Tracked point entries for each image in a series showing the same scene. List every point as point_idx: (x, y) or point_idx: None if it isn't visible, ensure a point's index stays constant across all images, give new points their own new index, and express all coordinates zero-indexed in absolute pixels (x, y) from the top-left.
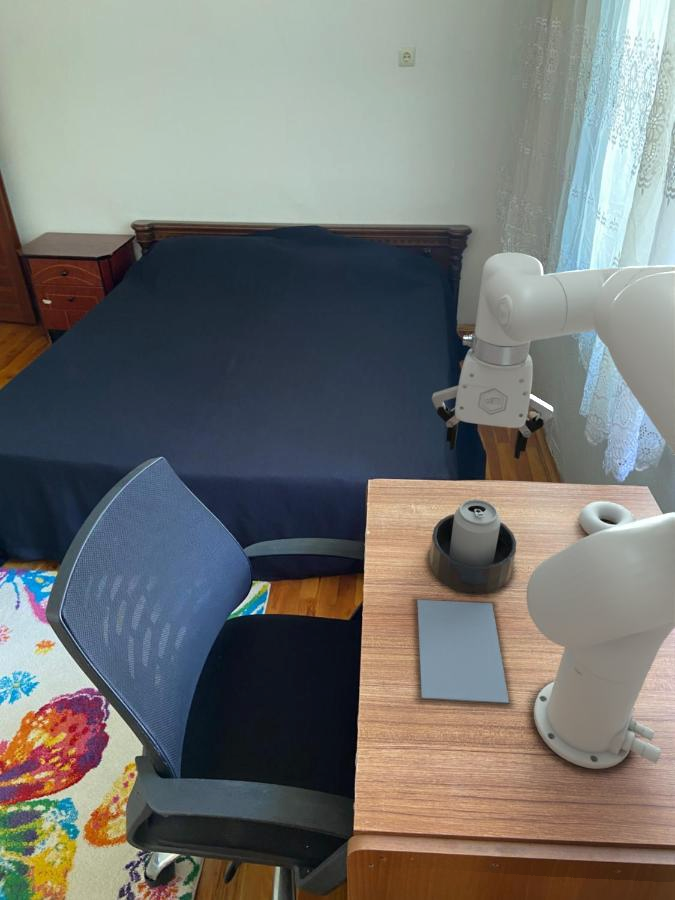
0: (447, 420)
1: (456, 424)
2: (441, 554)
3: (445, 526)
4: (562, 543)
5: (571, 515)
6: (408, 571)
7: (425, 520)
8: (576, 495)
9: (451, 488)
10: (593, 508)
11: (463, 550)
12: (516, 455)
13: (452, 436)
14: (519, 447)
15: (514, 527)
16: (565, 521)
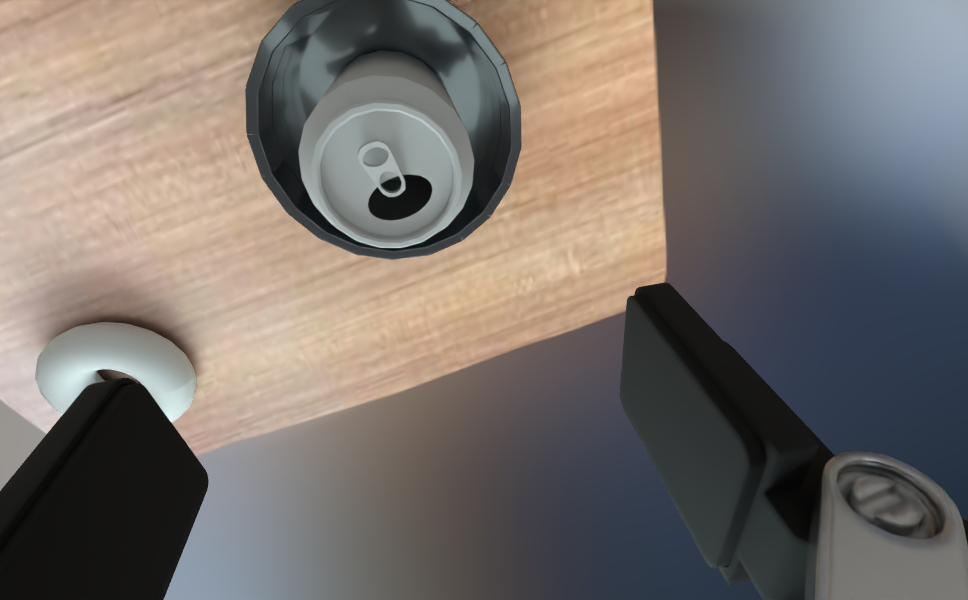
0: (955, 536)
1: (745, 516)
2: (472, 18)
3: (489, 186)
4: (201, 283)
5: (223, 374)
6: (548, 18)
7: (538, 233)
8: (240, 430)
9: (501, 352)
10: (158, 400)
11: (406, 65)
12: (99, 399)
13: (735, 369)
14: (23, 481)
15: (330, 291)
16: (227, 352)
